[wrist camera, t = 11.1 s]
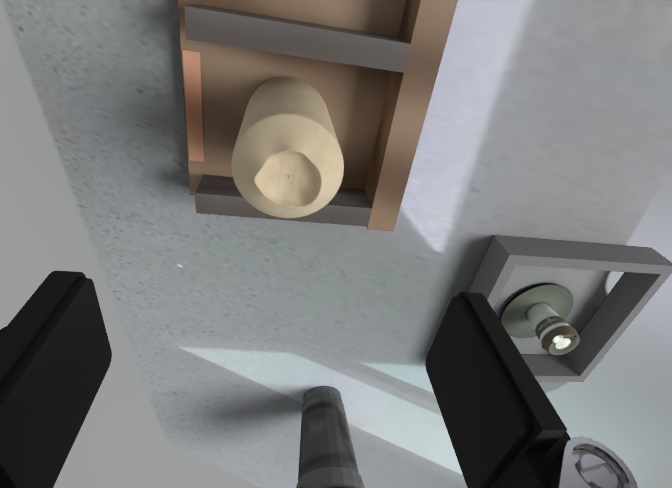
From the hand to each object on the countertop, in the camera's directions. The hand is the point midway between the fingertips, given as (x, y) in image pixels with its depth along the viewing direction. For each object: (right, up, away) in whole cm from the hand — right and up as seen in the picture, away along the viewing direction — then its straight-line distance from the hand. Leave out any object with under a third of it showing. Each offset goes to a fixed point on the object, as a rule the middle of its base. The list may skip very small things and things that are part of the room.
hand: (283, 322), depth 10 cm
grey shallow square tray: (+23, -5, +30) cm, 38 cm away
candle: (-2, +11, +16) cm, 19 cm away
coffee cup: (+23, -5, +30) cm, 38 cm away
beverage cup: (0, -16, +36) cm, 39 cm away
